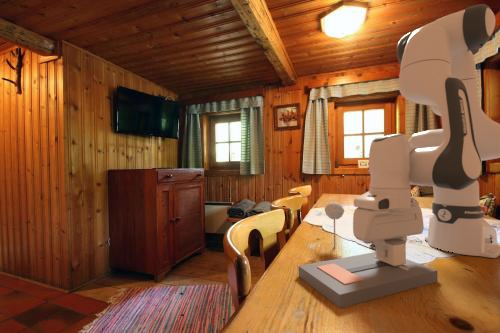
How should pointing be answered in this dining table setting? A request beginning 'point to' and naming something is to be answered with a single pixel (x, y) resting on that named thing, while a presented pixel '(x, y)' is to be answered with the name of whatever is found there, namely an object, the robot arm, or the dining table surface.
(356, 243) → the dining table surface
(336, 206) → the lollipop
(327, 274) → the console board
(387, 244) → the fader knob
